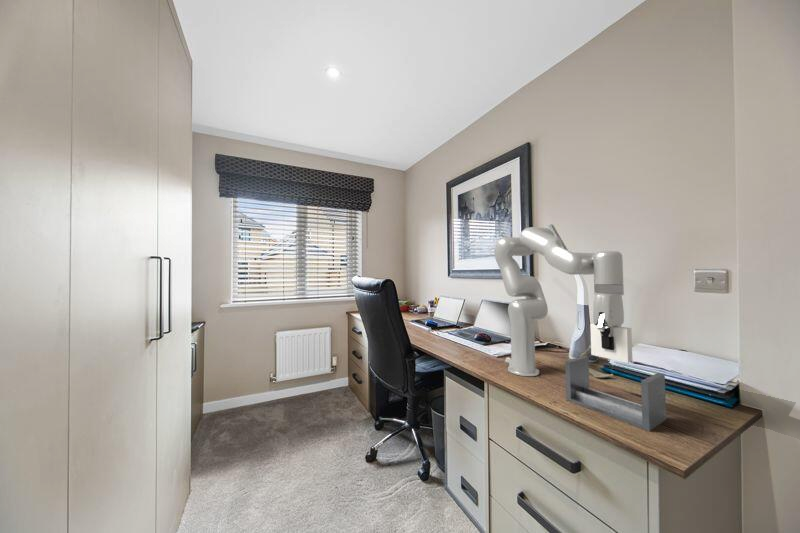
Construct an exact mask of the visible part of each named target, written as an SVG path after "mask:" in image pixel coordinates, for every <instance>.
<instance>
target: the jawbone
mask: <svg viewBox="0 0 800 533" xmlns="http://www.w3.org/2000/svg"><path fill="white" fill-rule="evenodd" d="M590 351H591V343H590V344H589V346H588V348H587V349H586V350H585V351H584V352H582V353H580V356H579V357H582V356H587V357H588V353H589V352H590ZM589 375H592V376H593V377H594V378H596V379H597V378H612V377H614V374H613V373H611V374H608V373H603V372H600V371H598V370H596V369H594V368H591V367H589Z"/></svg>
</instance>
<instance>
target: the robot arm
mask: <svg viewBox="0 0 800 533" xmlns="http://www.w3.org/2000/svg"><path fill="white" fill-rule="evenodd" d="M493 252H494V258H495V261H496V263H497V266H498V268H499V270H500V274H501V278H502V282H503V285H504V289H505V291H506V293H507V295H508V296H510V297H513V298H517V299H514V300H512V301H511V302H510V303H509V304H508V307H507V312H508V313H507V314H508V318H509V323H510V324H509V325H510V351H511V352H510V353H511V354H510V355H511V356H510V357H509V356H507V357H505V359H504V362H505V363H507V364H509V365H508V366H507V371H508V372H509V373H511V374H513V375H517V376H521V377H535V376H539V375H540V370H539V369H538V368H537V367H536V346H535V344H536V342H535V341H536V340H535V330H534V326H533V324H532V323H531V321H537V320H538V321H539V320H543V319H545V318H546V317H547V315H548V311H549V309H548V308H549V306H548V303H547V300H546V298H545V295H544V292H543V289H542V288H543V287H542V285H541V284H540V282H539V280H538V279H537V278H536V277H534V276H532V275H523V273H522V271H521V267H520V265H519V263H518V261H516V259H514V257H513V256H515V257H516V256H517V257H528V256H531V255H533V254H537V253H538V254H540V255H541V256H544V259H545V261H546V262H547V263H548V264H549V265H550V266H552V267H553V268H555V269H556V270H558V271H560V272H562V273H565V274H566V275H575V276H576V275H577V276H578V275H582V276H583V275H585V276H586V275H593V283H594V284H593V287H594V288H593V291H594V298H593V299H594V300H593V306H592V307H593V308H592V310H593V311H592V313H593V315H592V319H593V320H592V324H594V325H598V330H600V332H601V343H602V348H604V349H609V350H614V337H612V327H614V326H619V327H622V326H623V324H624V322H625V320H624V319H625V312H624V302H623V296H625V293H624V286H625V285H624V267H623V266H624V265H623V264H624V263H623V261H624V260H623V254H622V253H621V252H620V251H617V250H611V251H610V250H609V251H608V250H607V251H606V250H605V251H598V252H595V253H593V252H573V251H570V250H568V249H565V248H563V242H562V240H561V238H559V237H558V236H555V232H553V230H552V229H550V228H547V227H540V226H539V227H537V226H531V227H526V228H524V229H523V230H522V231H521V232H520V234H519V237H514V236H510V237H509V236H508V237H502V238H500V239H498V241H496V243H495V247H494V249H493ZM519 297H520V298H519ZM521 297H525V298H521ZM604 325H608V326H604ZM606 328H608V329H609V331H608V329H606Z"/></svg>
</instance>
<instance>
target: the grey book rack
mask: <svg viewBox="0 0 800 533" xmlns="http://www.w3.org/2000/svg"><path fill="white" fill-rule="evenodd" d="M564 365H565V395H566V396H565V400H566V401H568V402H571V403H573V404H577V405H579V406H581V407H583V408H586V409H589V410H592V411H594V412H597V413H600V414H602V415H605V416H608V417H610V418H613V419H616V420H619V421H621V422H623V423H626V424H629V425H630V426H631V425H632V426H634V427H637V428H640V429H643V430H645V431H648V432H650V431H652V430H654V429H655V428H656V427H657V426H659V425H660V424H662V423H663V422H665V421H666V420H667V403H666V378H665V377H666V376H665V373H661V372H657V373H655V374H653V375H650V376H648V377H647V378H644V379H641V380H640V391H641V392H640V393H641V404H640V403H637V402H634V401H630V400H627V399H625V398H621V397H618V396H615V395H612V394H609V393H606V392H603V391H600V390H597V389H593V388H590V373H589V368H590V367H589V366H590V363H589V356H588V355H587V356H582V357H580V356H578V357H575V358H572V359H569V360H565V363H564Z"/></svg>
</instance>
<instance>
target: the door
mask: <svg viewBox="0 0 800 533" xmlns="http://www.w3.org/2000/svg"><path fill="white" fill-rule="evenodd" d="M604 326H608V325H606V324H605V325H604ZM589 328H590V344H591V349H590V354H591V356H595V357H600V358H603V359H607V360H613V361H618V362H623V363H627V364H629V363H631V362H633V341H632V340H633V339H632V327H624V326H621V327H619V326H614V327H612V337H614V350H609V349H604V348H602V343H601V332H600V330H598V325H594V323H590V327H589ZM606 329H608V328H606ZM608 331H609V329H608Z"/></svg>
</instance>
